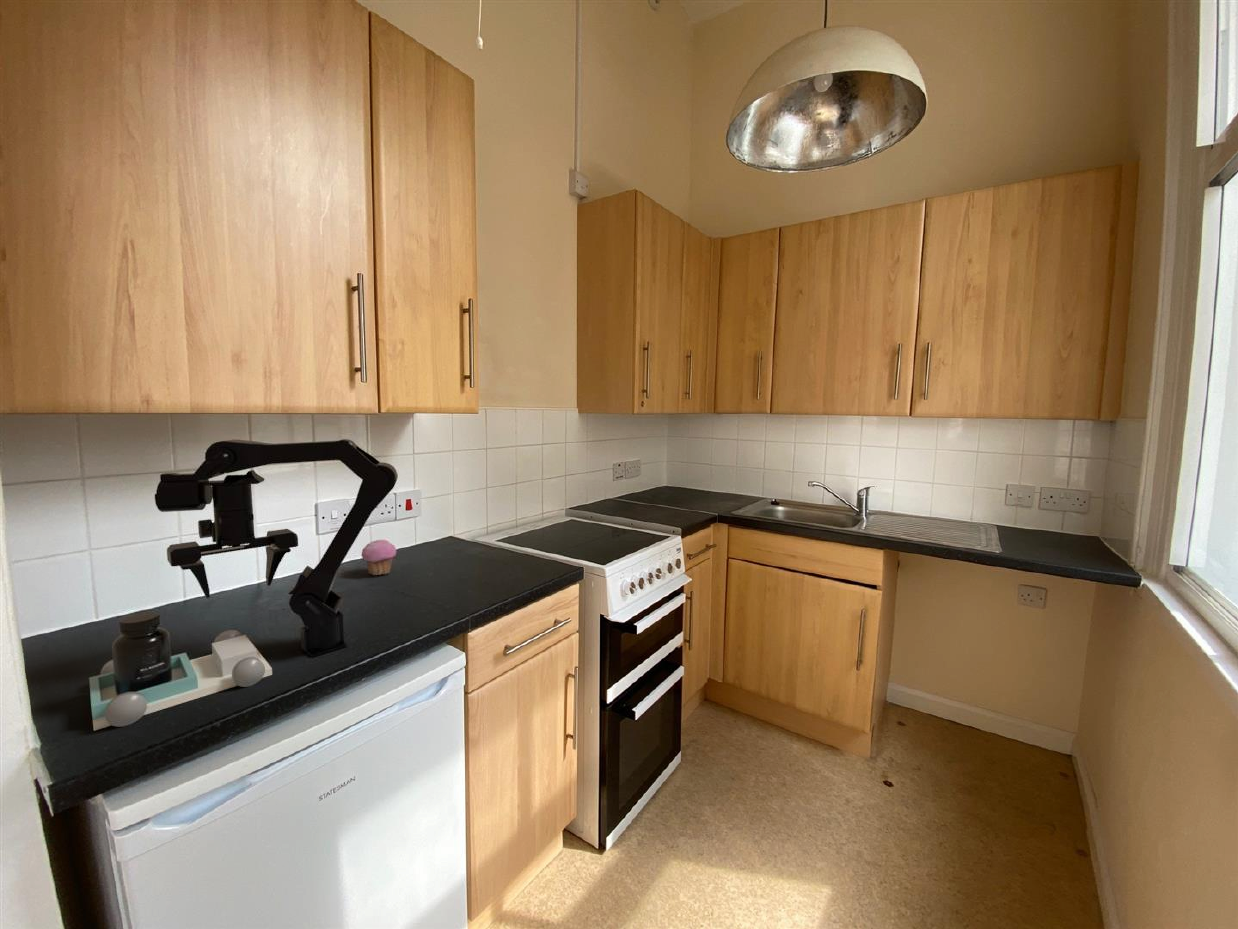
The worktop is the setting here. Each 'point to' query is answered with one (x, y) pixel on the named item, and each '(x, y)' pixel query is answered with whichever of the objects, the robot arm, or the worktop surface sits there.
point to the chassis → (180, 681)
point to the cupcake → (379, 556)
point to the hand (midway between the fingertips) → (239, 591)
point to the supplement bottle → (141, 654)
